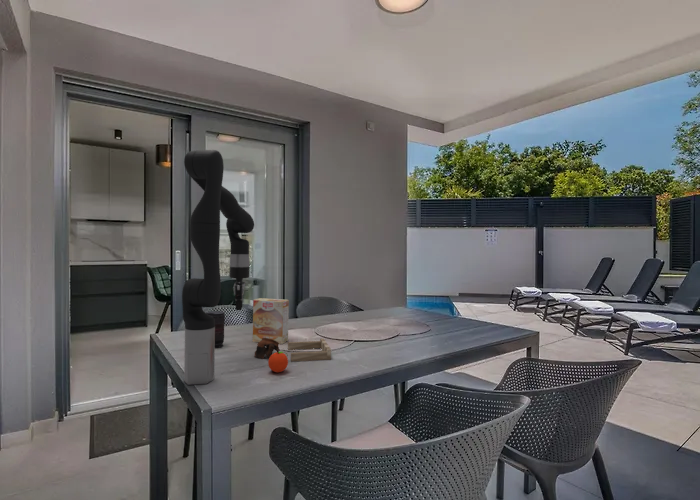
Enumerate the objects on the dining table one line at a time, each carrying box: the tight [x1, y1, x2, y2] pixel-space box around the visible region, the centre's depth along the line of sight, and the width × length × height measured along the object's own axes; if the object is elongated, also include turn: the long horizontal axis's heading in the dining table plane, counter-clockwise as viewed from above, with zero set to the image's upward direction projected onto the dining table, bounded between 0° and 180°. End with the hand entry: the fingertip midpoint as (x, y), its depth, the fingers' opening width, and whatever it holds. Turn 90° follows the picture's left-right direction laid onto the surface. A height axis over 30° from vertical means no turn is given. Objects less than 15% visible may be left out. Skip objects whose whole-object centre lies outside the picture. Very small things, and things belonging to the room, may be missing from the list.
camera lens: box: [205, 310, 226, 349], centre depth 169 cm, size 8×8×15 cm
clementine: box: [267, 351, 289, 373], centre depth 137 cm, size 8×7×7 cm
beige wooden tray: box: [287, 338, 332, 362], centre depth 159 cm, size 18×16×4 cm
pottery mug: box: [253, 338, 280, 360], centre depth 156 cm, size 12×10×8 cm
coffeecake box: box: [252, 297, 290, 345], centre depth 179 cm, size 15×7×20 cm, turn 76°
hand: (239, 308), depth 153 cm, fingers open, 4 cm apart
